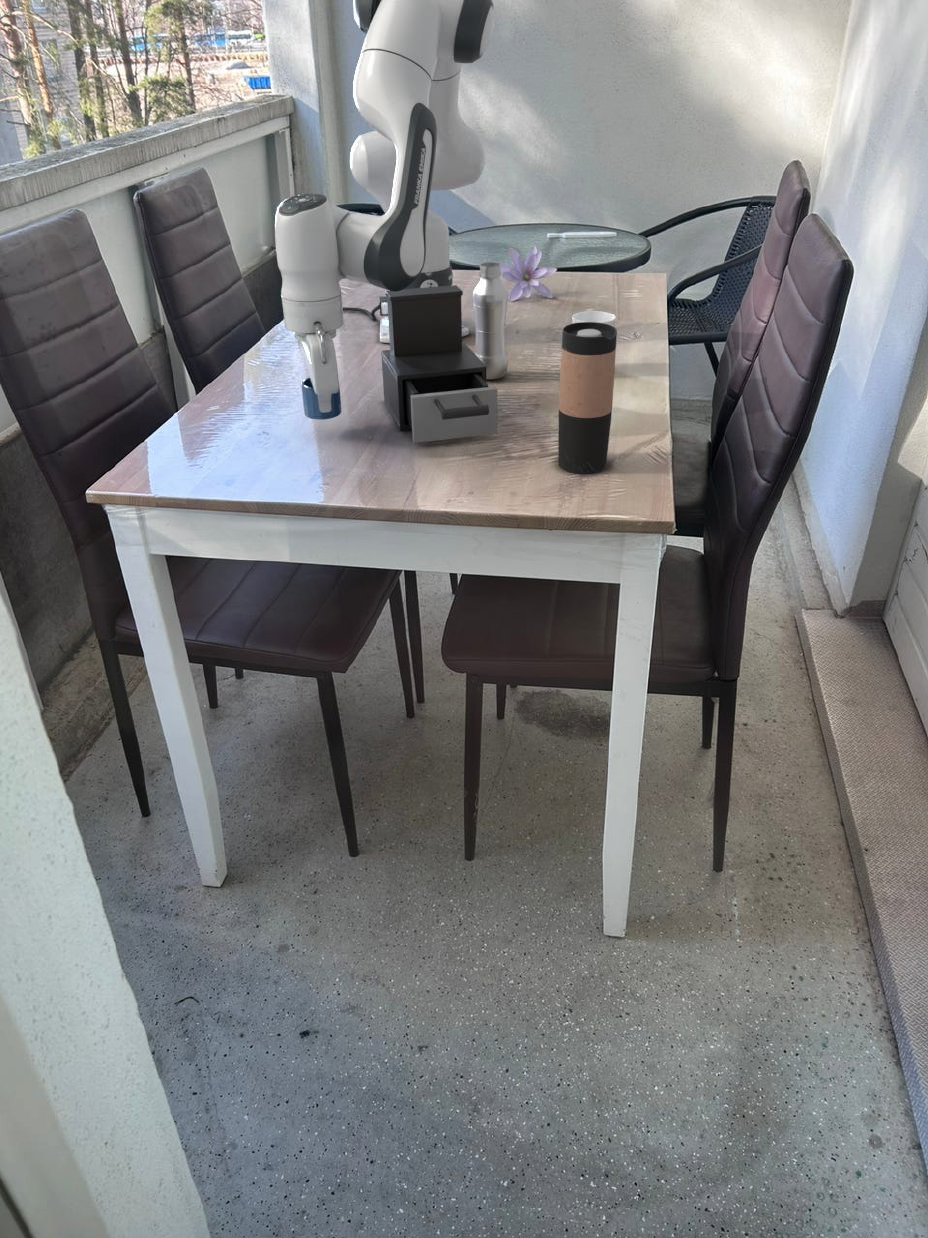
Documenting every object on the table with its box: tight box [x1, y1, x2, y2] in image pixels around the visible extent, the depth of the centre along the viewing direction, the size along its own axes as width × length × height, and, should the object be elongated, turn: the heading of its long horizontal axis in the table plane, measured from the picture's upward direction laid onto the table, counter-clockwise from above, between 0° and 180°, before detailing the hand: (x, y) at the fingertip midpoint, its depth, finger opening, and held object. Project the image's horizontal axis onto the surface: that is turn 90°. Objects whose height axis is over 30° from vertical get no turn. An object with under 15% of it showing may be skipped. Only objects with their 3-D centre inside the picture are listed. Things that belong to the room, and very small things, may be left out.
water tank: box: [384, 284, 464, 356], centre depth 157 cm, size 4×12×10 cm, turn 105°
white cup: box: [571, 310, 617, 328], centre depth 175 cm, size 8×8×10 cm
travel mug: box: [557, 322, 618, 475], centre depth 136 cm, size 8×8×20 cm
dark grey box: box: [380, 342, 487, 431], centre depth 159 cm, size 14×15×9 cm
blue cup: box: [300, 377, 342, 421], centre depth 149 cm, size 6×6×5 cm
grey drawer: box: [402, 372, 498, 444], centre depth 149 cm, size 19×13×7 cm
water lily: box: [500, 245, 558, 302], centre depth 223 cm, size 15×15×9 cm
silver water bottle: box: [471, 261, 509, 380], centre depth 170 cm, size 6×7×20 cm
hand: (322, 402), depth 150 cm, fingers closed on blue cup, 6 cm apart
